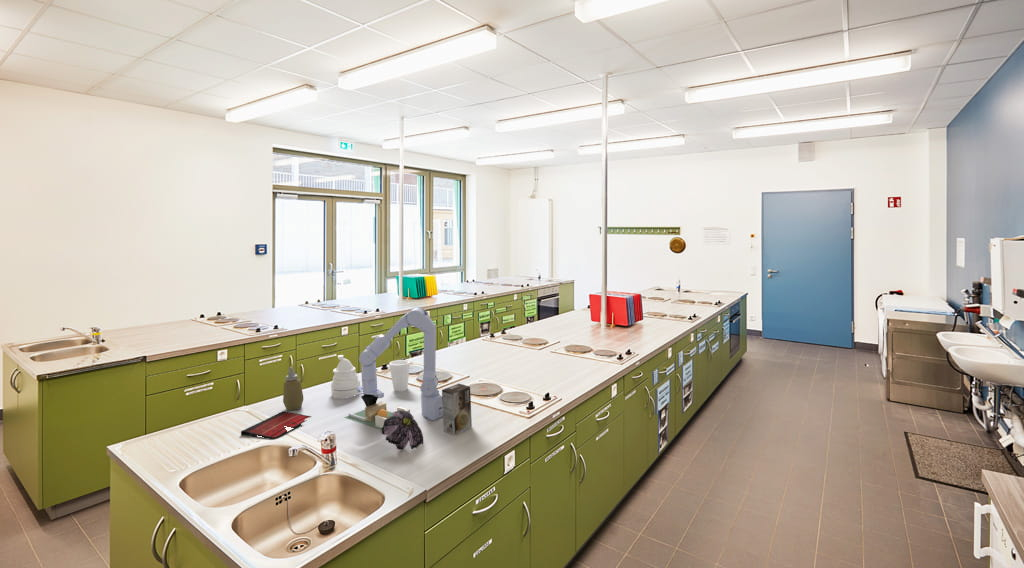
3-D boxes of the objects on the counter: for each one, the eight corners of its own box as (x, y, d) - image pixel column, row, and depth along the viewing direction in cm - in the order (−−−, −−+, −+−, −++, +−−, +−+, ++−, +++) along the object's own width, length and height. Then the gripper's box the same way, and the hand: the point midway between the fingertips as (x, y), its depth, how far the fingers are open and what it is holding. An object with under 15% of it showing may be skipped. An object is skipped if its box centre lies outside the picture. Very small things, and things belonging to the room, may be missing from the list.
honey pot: (325, 397, 218) (323, 358, 217) (343, 388, 231) (341, 351, 229) (349, 399, 215) (347, 360, 213) (366, 390, 227) (364, 353, 225)
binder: (240, 430, 178) (282, 410, 198) (240, 436, 178) (282, 415, 198) (275, 436, 173) (315, 415, 193) (275, 442, 173) (315, 421, 193)
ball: (387, 419, 190) (391, 413, 188) (379, 423, 186) (382, 416, 185) (381, 412, 191) (385, 405, 189) (373, 415, 188) (377, 409, 186)
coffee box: (460, 423, 184) (458, 383, 182) (472, 427, 180) (471, 386, 178) (442, 431, 177) (441, 389, 175) (454, 435, 173) (453, 392, 171)
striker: (386, 415, 193) (386, 403, 192) (370, 421, 186) (369, 409, 186) (381, 413, 194) (381, 401, 194) (365, 419, 188) (364, 407, 187)
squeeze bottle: (296, 412, 200) (293, 370, 198) (279, 411, 202) (276, 369, 200) (308, 405, 208) (305, 365, 206) (291, 404, 210) (288, 364, 208)
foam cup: (413, 386, 231) (412, 359, 230) (407, 392, 222) (406, 365, 221) (394, 386, 232) (393, 359, 231) (387, 392, 223) (386, 365, 222)
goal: (410, 419, 187) (409, 409, 187) (386, 429, 178) (386, 419, 177) (399, 416, 191) (398, 406, 191) (375, 426, 182) (375, 415, 181)
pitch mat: (413, 420, 188) (413, 416, 188) (385, 433, 177) (385, 428, 176) (372, 408, 202) (372, 404, 202) (344, 419, 191) (343, 414, 191)
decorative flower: (391, 429, 156) (384, 402, 169) (380, 458, 159) (375, 429, 172) (432, 431, 163) (423, 406, 176) (422, 459, 166) (413, 432, 179)
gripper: (349, 378, 191) (351, 411, 193) (372, 384, 183) (374, 419, 184) (364, 374, 197) (365, 406, 199) (387, 380, 189) (389, 413, 190)
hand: (371, 412), depth 192 cm, fingers closed
